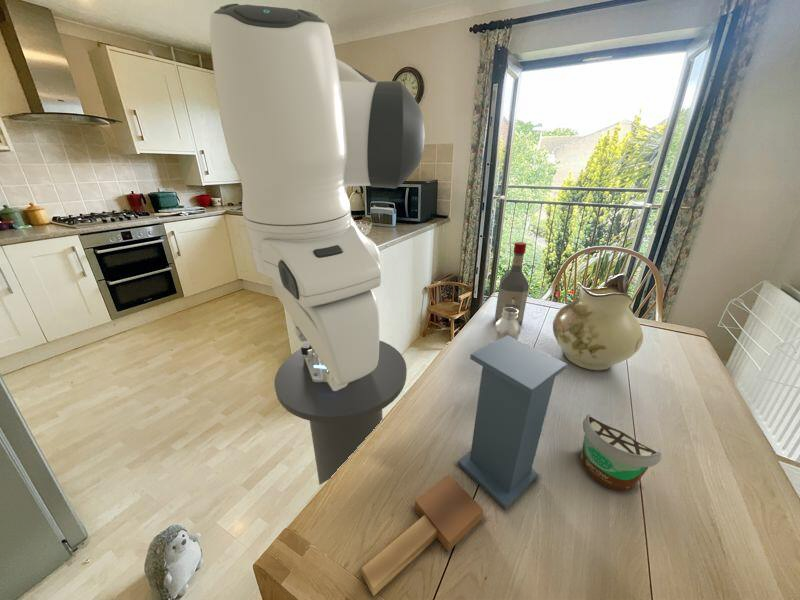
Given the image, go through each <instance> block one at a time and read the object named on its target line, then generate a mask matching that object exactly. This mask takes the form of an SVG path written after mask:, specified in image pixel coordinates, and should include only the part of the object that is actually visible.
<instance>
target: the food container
mask: <svg viewBox="0 0 800 600" xmlns="http://www.w3.org/2000/svg"><path fill="white" fill-rule="evenodd" d="M591 414H592V412H589V413H587V414H586V416H585V417H584V418H583V420H582V429H583V433H584V436H583V442H582V448H581V456H580V462H581V464H582V467H583V469H584V470H585V472H586V473H587V474H588V476H590V477H591V478H592V479H593V480H594V481H596V482H597V483H599V484H600V485H602V486H603V487H606V488H608V489H611V490H613V491H619V492H627V491H630V490H633V489H634V488H635V487H636V486H637V484H638V483H639V481H641V479H642V477H643V476H644V475H645V473H646V472H647V471H648V469H649V468H650V467H653V466H656V465H658V464H659V463H660V462H661V460H662V454H663V453H662V452H661V451H662V449H659V450H658V452H657V451H656V450H654V449H652V448H650V447H648V446H645V445H644V444H643V443H641V442H638V441H637V440H636V439H634V438H632V437H631V436H630V435H628V434H627V433H625V432H623V431H621V430H619V429H617V428H614V427H612V426H610V425H607V424H605V423H603V422H601V421H600V420H598V419H596V418H594V417H592V416H591Z"/></svg>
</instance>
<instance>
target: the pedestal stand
mask: <svg viewBox="0 0 800 600" xmlns="http://www.w3.org/2000/svg"><path fill="white" fill-rule="evenodd" d="M469 359H470V360H471V361H472V362H474V363H476V364H477V365H480V366H481V367H482V368H481V375H480V382H479V388H478V389H479V390H478V396H477V404H476V411H475V418H474V425H473V433H472V441H471V448H470V451H469V452H468V453H467V454H465V455H464V456H463V457H461V458H460V459H459V460H458V461H457V465H458V466H459V467H460V468H461V469H462V470H463V471H464V472H465V473H466V474H467V475H468V476H469V477H470V478H471V479H472V480H473V481H475V482H476V484H477V485H479V486H480V487H481V488H482V489H483V490H484V491H485V492H486V493H487V494H488V495H489V496H490V497H491V498H492V499H494V501H495V502H496V503H498V504H499V505H500V506H501V507H502V508H503V510H507V509H508V507H510V506H511V505H512V504H513V502H515V500H516V499H518V497H519V496H520V495H522V493H523V492H524V491H525V490H526V489H528V487H529V486H530V485H531V484H532V483H533V482H534V480H536V479H537V478H538V475H539V473H538V472H537V471H536V470H534V469H533V465H534V460H535V457H536V454H537V450H538V446H539V442H540V438H541V434H542V432H543V431H542V430H543V426H544V423H545V418H546V414H547V411H548V407H549V403H550V399H551V395H552V391H553V387H554V384H555V380H556V378H557V376H559V375H560V374H562V372H564V371H565V370H567V367H568V363H566V362H564V361H562V360H561V359H558V358H556V357H554V356H552V355H550V354H548V353H545V352H544V351H542V350H539V349H537V348H535V347H533V346H530V345H529V344H527V343H524V342H522V341H520V340H519V339H518V340H516V339H514V338H512V337H510V336H508V335H507V336H505V337H503V338H501V339H499V340H497V341H495V342H491V343H489V344H488V345H485V346H483V347H482V348H479V349H477V350H475V351H474V352H472V353H470V356H469Z"/></svg>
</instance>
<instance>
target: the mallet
mask: <svg viewBox="0 0 800 600" xmlns="http://www.w3.org/2000/svg"><path fill="white" fill-rule="evenodd" d="M414 511H415V512H416V514H417V515H418V516H419V517H420V518H419V519H418V520H416V521H415V522H414V523H413V524H412V525H411V526H410V527H408V528H407V529H406V530H405V531H404V532H403V533H401V534H400V535H399V536H397V538H395V539H394V540H393V541H392V542H391V543H389V544H388V545H387V546H386V547H384V548H383V549H382V550H381V551H380V552H379V553H377V554H376V555H375V556H374V557H372V559H371V560H369V561H368V562H366V564H365V565H363V566H362V567H361V575H362V578H363V580H364V582H365V583H366V585H367V587H368V589H369V591H370V593H371V595H372V596H373V597H374V596H376V595H377V594H378V593H379V592H380V591H381V590H383V588H384V587H385V586H387V585H388V584H389V583H390V582H391V581H392V580H393V579H394V578H395V577H396V576H397V575H398V574H399V573H400V572H401V571H403V570H404V569H405V568H406V567H407V566H409V564H410V563H411V562H413V560H414V559H416V557H418V556H419V555H420V554H421V553H422V552H423V551H424V550H425V549H426V548H427V547H428V546H429V545H431V544H432V543H433V542H434V541H435V540H436V539H437V540H438V541H439V542H440V543H441V545H442V546H443V547H444V549H445V550H446V551H447V552H448V553H449V552H450V551H451V550H452V549H453V548H454V547H455V546H456V545H457V544H458V543H459V542H460V541H462V539H463V538H464V537H465V536H466V535H467V534H468V533H469V532H470V531H471V530H472V529H473V528H474V527H475V526H476V525H477V524H479V522H481V520H482V519H483V514H484V509H483V507H482V506H481V505H480V504H479V503H478V502H477V501H476V500H475V499H474V498H473V497H472V496H471V495H470V494H469V493H468V492H467V491H466V490H465V489H464V488H463V487H462V486H461V485H460V484H459V482H457V481H456V480H455V479H454V478H453V477H452V476H451V475H450V474H449V473H447V474H446V475H445V476H444V477H442V478H441V479H440V480H439V481H438V482H436V483H435V484H433V486H431V487H430V488H429V489H427V490H426V491H425V492H423V493H422V494H420V496H419V497H416V499H415V500H414Z"/></svg>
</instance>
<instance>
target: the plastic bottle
mask: <svg viewBox="0 0 800 600" xmlns="http://www.w3.org/2000/svg"><path fill="white" fill-rule="evenodd" d="M517 317H518V310H517V309H515V308H511V307H505V308H503V312H502V318H500V319H499V320H498V321H497V322H496V321H495V324H494V327H493V329H494V331H493V332H494V340H493V341H494V342H495V341H497V340H499V339H501V338H503V337H505V336H507V335H508V336H510V337H512V338H514V339H516V340H518V341H519V337H520V335H521V327H520V325H519V323H518V322H517V320H516V319H517Z"/></svg>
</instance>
